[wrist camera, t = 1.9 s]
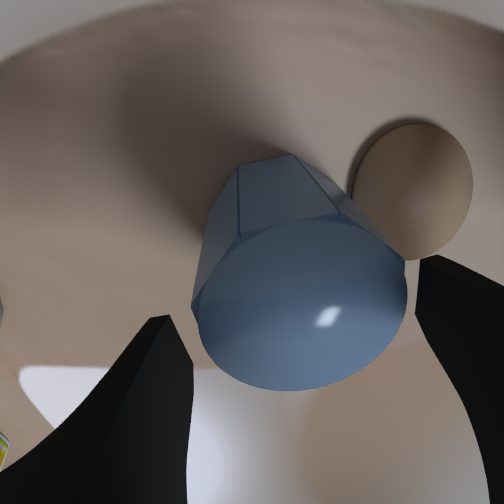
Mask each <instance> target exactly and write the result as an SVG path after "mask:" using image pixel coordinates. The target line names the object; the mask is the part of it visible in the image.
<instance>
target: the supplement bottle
mask: <svg viewBox="0 0 504 504" xmlns="http://www.w3.org/2000/svg"><path fill="white" fill-rule="evenodd" d="M9 446H10V443H9V441H8V440H7V439H6V438H5V437H4V436H3V435H2V434H1V433H0V471H1V468H2V466H3V463H4V460H5V457H6V455H7V452H8V449H9Z"/></svg>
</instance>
